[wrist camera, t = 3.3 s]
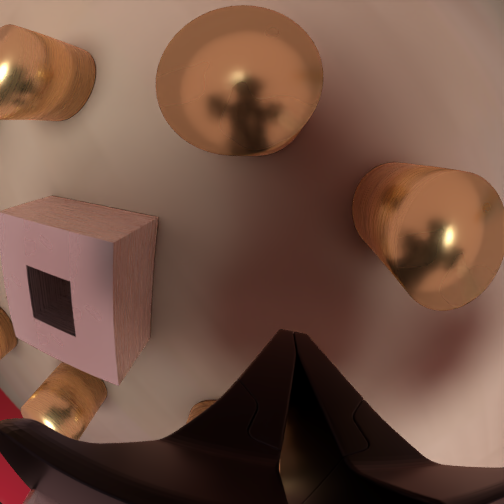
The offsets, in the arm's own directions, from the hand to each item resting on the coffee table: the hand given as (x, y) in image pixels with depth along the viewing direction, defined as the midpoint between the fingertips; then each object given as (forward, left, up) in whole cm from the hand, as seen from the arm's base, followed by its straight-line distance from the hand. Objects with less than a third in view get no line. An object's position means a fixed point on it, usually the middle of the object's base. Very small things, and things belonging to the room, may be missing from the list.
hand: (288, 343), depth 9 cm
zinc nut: (0, +8, -2) cm, 8 cm away
